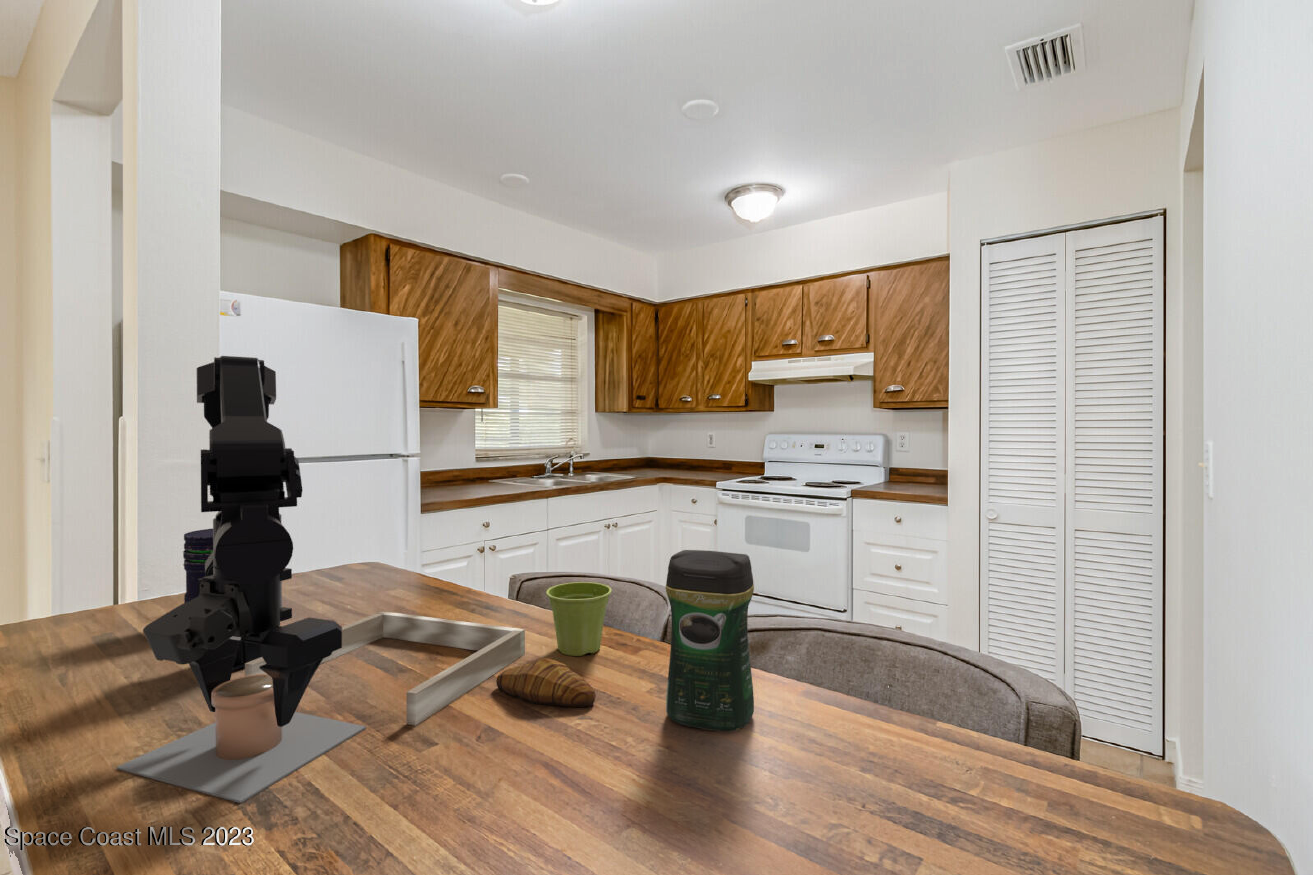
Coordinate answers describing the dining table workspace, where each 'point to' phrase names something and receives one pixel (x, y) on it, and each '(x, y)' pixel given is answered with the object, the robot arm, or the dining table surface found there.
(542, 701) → the croissant
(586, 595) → the plant pot
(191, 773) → the grey mat
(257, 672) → the metal u frame
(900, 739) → the dining table surface
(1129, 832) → the dining table surface
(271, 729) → the pot
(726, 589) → the coffee jar
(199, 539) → the storage jar
